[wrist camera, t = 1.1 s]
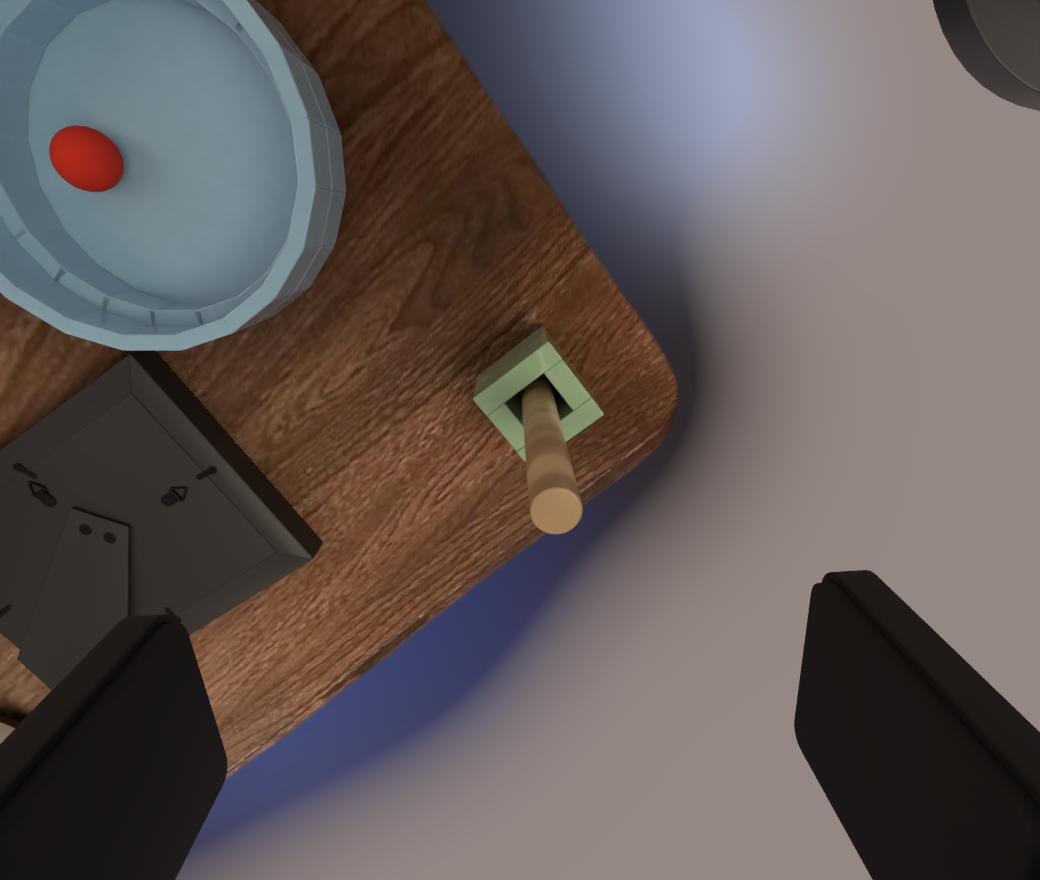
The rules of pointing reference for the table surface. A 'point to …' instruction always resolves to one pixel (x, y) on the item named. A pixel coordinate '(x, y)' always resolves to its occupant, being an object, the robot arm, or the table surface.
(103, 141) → the ball
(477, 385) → the holder
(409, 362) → the table surface
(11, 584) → the picture frame
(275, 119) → the light blue round tray
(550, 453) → the stick
